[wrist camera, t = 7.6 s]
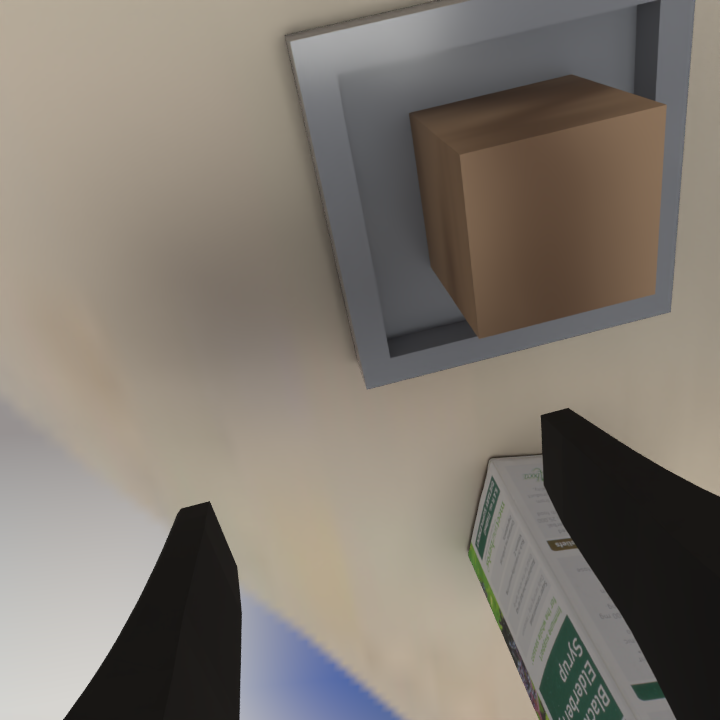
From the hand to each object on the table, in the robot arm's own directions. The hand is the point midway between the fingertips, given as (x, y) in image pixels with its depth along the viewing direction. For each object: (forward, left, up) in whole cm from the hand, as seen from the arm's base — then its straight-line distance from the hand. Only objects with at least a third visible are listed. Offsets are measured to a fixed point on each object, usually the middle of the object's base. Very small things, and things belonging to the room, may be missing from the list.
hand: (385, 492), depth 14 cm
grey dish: (-6, -2, -10) cm, 12 cm away
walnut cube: (-6, -3, -9) cm, 12 cm away
